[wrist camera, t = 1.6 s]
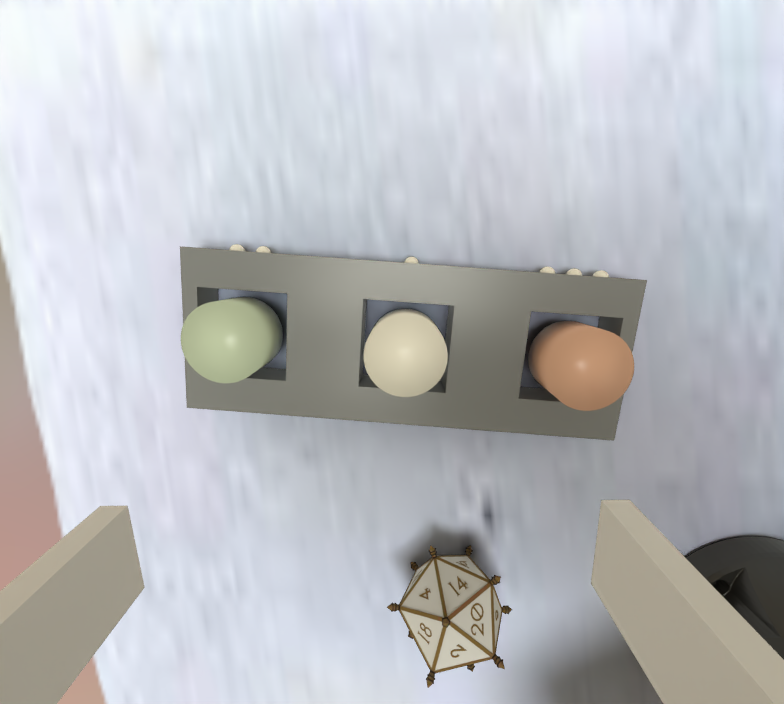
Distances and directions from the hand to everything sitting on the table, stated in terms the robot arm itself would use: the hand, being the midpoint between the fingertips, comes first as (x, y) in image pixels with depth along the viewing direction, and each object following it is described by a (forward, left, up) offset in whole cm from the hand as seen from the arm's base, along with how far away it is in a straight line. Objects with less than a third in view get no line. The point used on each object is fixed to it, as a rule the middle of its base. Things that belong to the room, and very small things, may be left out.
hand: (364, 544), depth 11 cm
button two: (+10, -3, -17) cm, 20 cm away
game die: (-6, +17, -19) cm, 26 cm away
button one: (-1, -3, -17) cm, 17 cm away
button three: (-12, -3, -17) cm, 21 cm away
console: (-1, -3, -19) cm, 19 cm away
